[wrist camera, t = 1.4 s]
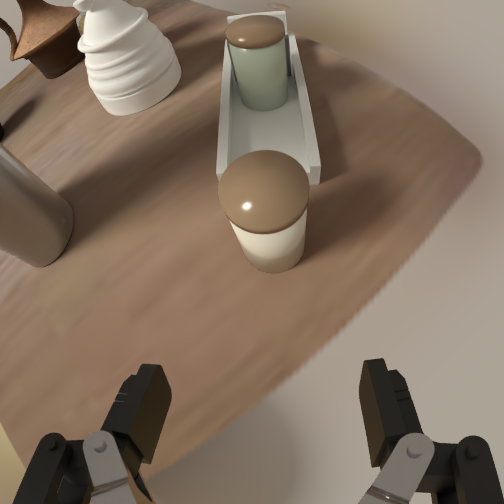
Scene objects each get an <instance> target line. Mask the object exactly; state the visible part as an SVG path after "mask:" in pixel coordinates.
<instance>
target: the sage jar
mask: <svg viewBox="0 0 504 504" xmlns="http://www.w3.org/2000/svg"><path fill="white" fill-rule="evenodd" d="M225 33H226V38H227V41H228V43H229V46H230V51H231V55H232V59H233V64H234V68H235V73H236V77H237V82H238V86H239V91H240V96H241V100H242V103H243V104H244V105H245V106H246V107H247V108H249V109H251V110H254V111H271V110H275V109H277V108H279V107H281V106H282V105H284V104H285V103H286V101H287V99H288V80H287V65H286V51H285V38H284V36H285V26H284V22H283V21H282V20H281V19H279V18H277V17H274V16H270V15H251V16H245V17H242V18H239V19H236V20H234V21H233V22H231V23H230V24H229V25H228V26H227V27H226V29H225Z"/></svg>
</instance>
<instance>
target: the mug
mask: <svg viewBox="0 0 504 504" xmlns="http://www.w3.org/2000/svg"><path fill="white" fill-rule="evenodd" d="M3 135H4V129H3V127H2V125H1V123H0V141H1V139H2V137H3Z"/></svg>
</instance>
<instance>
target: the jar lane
mask: <svg viewBox="0 0 504 504" xmlns="http://www.w3.org/2000/svg"><path fill="white" fill-rule="evenodd" d="M251 15H270V16H274V17H277V18H279V19H281V20H282V21H283V22H284V26H285V35H289V44H290V59H291V76H287V80H288V99H287V101H286V103H285V104H284V105H282V106H281V107H279V108H277V109H275V110H271V111H254V110H251V109H249V108H247V107H246V106H245V105H244V104H243V103H242V100H241V96H240V91H239V86H238V82H237V81H235V77H234V73H233V68H232V64H231V60H230V55H229V51H228V47H227V40H225V51H224V62H223V74H222V87H221V101H220V116H219V131H218V149H217V167H216V175H217V177H218V180H219V181H220V179H221V176H222V174H223V172H224V171H225V170H226V168H227V167H228V166H229V165H230V164H231V163H232V162H233V161H234V160H236V159H237V158H239V157H241V156H243V155H245V154H247V153H250V152H254V151H259V150H273V151H279V152H282V153H285V154H287V155H289V156H291V157H293V158H294V159H296V160H297V161H298V162H299V163H300V164H301V165H302V166H303V168H304V169H305V171H306V173H307V175H308V179H309V185H318V184H319V182H320V172H321V163H320V157H319V151H318V145H317V139H316V133H315V128H314V123H313V117H312V112H311V107H310V102H309V97H308V92H307V87H306V83H305V78H304V74H303V69H302V65H301V60H300V56H299V52H298V48H297V44H296V40H295V36H294V33H290V34H287V25H286V13H285V11H275V12H262V13H252V14H243V15H235V16H228V17H227V21H228V25H229V24H230V23H231V22H233V21H234V20H236V19H239V18H242V17H245V16H251Z"/></svg>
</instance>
